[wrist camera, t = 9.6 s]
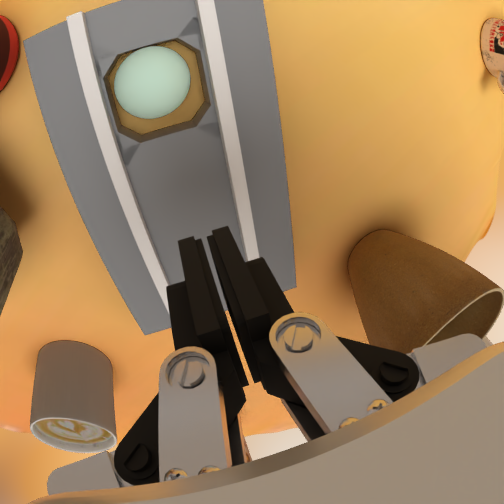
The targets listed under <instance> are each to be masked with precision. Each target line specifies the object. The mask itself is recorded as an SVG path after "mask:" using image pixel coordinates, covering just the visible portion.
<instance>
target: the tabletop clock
mask: <svg viewBox="0 0 504 504" xmlns="http://www.w3.org/2000/svg"><path fill="white" fill-rule="evenodd" d="M22 253H23V251H22V247H21V243H20V240H19V236H18V232H17V228H16V224H15V222H14V221H13V220H12V219H11V218H10V217H9V215H8V214H7V213H6V212H5V211H4V210H3V209H2V207H1V206H0V315H1V312H2V310H3V307H4V304H5V302H6V299H7V296H8V294H9V291H10V288H11V285H12V283H13V280H14V277H15V275H16V272H17V270H18V267H19V264H20V261H21V258H22Z"/></svg>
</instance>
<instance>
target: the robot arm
mask: <svg viewBox="0 0 504 504" xmlns="http://www.w3.org/2000/svg"><path fill="white" fill-rule="evenodd" d="M207 240H208V244H209V248H210V251H211V255H212V258H213V262H214V265H215V268H216V272H217V275H218V279H219V282H220V286H221V289H222V292H223V296H224V299H225V302H226V305H227V308H228V311H229V314H230V317H231V319H232V322H233V325H234V328H235V331H236V334H237V337H238V339H239V342H240V345H241V348H242V351H243V353H244V356H245V359H246V362H247V364H248V367H249V370H250V372H251V375H252V378H253V381H254V383H257V382H260V381H261V383H262V385H263V388H264V390H266V391H267V393H268V394H270V395H273V396H276V397H279V398H281V401H282V403H283V404H284V406H285V408H286V409H287V411H288V412H289V414H290V415H291V417H292V418H293V420H294V421H295V423H296V424H297V426H298V427H299V429H300V430H301V432H302V433H303V435H304V436H305V438H306V439H307V441H308V442H307V443H304V444H301V445H299V446H296V447H293V448H290V449H288V450H285V451H282V452H279V453H276V454H273V455H270V456H267V457H264V458H261V459H258V460H254V461H251V462H248V463H247V457H246V451H245V445H244V438H243V432H242V425H241V418H240V414H239V411H240V410H241V408H242V407H243V405H244V403H245V402H246V398H245V393H244V390H243V387H244V386H248V385H249V383H248V380H247V378H246V375H245V372H244V369H243V366H242V363H241V360H240V357H239V354H238V351H237V348H236V345H235V342H234V339H233V335H232V332H231V329H230V326H229V323H228V320H227V317H226V314H225V311H224V308H223V305H222V302H221V299H220V296H219V293H218V290H217V287H216V284H215V280H214V277H213V274H212V271H211V268H210V265H209V261H208V258H207V255H206V252H205V249H204V245H203V242H202V239H201V238H200V239H197V240H195V238H194V236H191V237H188V238H185V239H181V240H178V246H179V251H180V257H181V262H182V267H183V272H184V277H185V281H182V282H179V283H176V284H172V285H169V286H167V287H166V292H167V300H168V307H169V314H170V321H171V327H172V334H173V340H174V346H175V351H174V352H173V353H171V354H170V355H169V356H168V357H167V358H166V359H165V360H164V362H163V364H162V365H161V369H160V373H159V392H158V394H157V395H156V396H155V398H154V399H153V400H152V402H151V403H150V404H149V406H148V407H147V408H146V410H145V411H144V412H143V413H142V415H141V416H140V417H139V419H138V420H137V421H136V423H135V424H134V425H133V426H132V428H131V429H130V430H129V432H128V433H127V434H126V436H125V437H124V438H123V439H122V441H121V442H120V443H119V445H118V447H117V448H116V450H115V451H113V452H110V453H109V452H108V451H104V452H102V453H99V454H96V455H94V456H91V457H88V458H86V459H83V460H80V461H77V462H75V463H72V464H69V465H66V466H63V467H60V468H57V469H56V470H54V471H53V472H52V473H51V474H50V476H49V478H48V482H47V489H48V494H49V496H45V497H42V498H39V499H36V500H34V501H32V502H30V503H28V504H504V342H501V343H497V344H494V345H493V344H492V343H491V342H490V340H489V339H488V338H487V337H486V336H485V337H484V339H483V340H482V339H481V338H479V337H478V336H476V335H474V334H469V333H468V334H461V335H458V336H455V337H452V338H449V339H446V340H443V341H439V342H436V343H433V344H429V345H426V346H422V347H419V348H415V349H413V350H412V352H411V353H408V354H404V353H401V352H399V351H394V350H390V349H386V348H382V347H377V346H373V345H369V344H365V343H361V342H357V341H353V340H349V339H345V338H341V337H338V336H335V335H334V334H333V333H332V332H331V330H330V329H329V328H328V327H327V326H326V325H325V324H324V322H323V321H322V320H320V319H319V318H318V317H317V316H314V315H312V314H309V313H303V312H298V313H294V311H293V309H292V308H291V306H290V304H289V302H288V300H287V299H286V297H285V295H284V293H283V291H282V290H281V288H280V286H279V284H278V282H277V281H276V279H275V277H274V275H273V273H272V272H271V270H270V268H269V266H268V264H267V263H266V261H265V259H264V258H263V257H260V258H257V259H254V260H250V261H247V262H245V261H244V259H243V257H242V255H241V252H240V250H239V248H238V246H237V244H236V242H235V240H234V237H233V235H232V233H231V231H230V229H229V227H228V226H225V227H221V228H218V229H214V230H212V235H210V236H207Z"/></svg>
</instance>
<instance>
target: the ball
mask: <svg viewBox="0 0 504 504" xmlns="http://www.w3.org/2000/svg"><path fill="white" fill-rule="evenodd" d="M189 87H190V72H189V68H188V66H187V64H186V62H185V60H184V59H183V58H182V57H181V56H180V55H179V54H178V53H176V52H175V51H173V50H171V49H169V48H166V47H161V46H150V47H145V48H142V49H139V50H137V51H135V52H133V53H132V54H130V55H129V56H128V57H127V58H126V59H125V60H124V61H123V62H122V64H121V65H120V67H119V68H118V70H117V73H116V76H115V80H114V90H115V95H116V98H117V100H118V102H119V104H120V105H121V106H122V108H123V109H124V110H126V111H127V112H128V113H130V114H131V115H134V116H136V117H139V118H144V119H154V118H159V117H162V116H165V115H167V114H169V113H171V112H172V111H174V110H175V109H176V108H178V107H179V106H180V104H181V103H182V102H183V101H184V99H185V98H186V96H187V93H188V91H189Z"/></svg>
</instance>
